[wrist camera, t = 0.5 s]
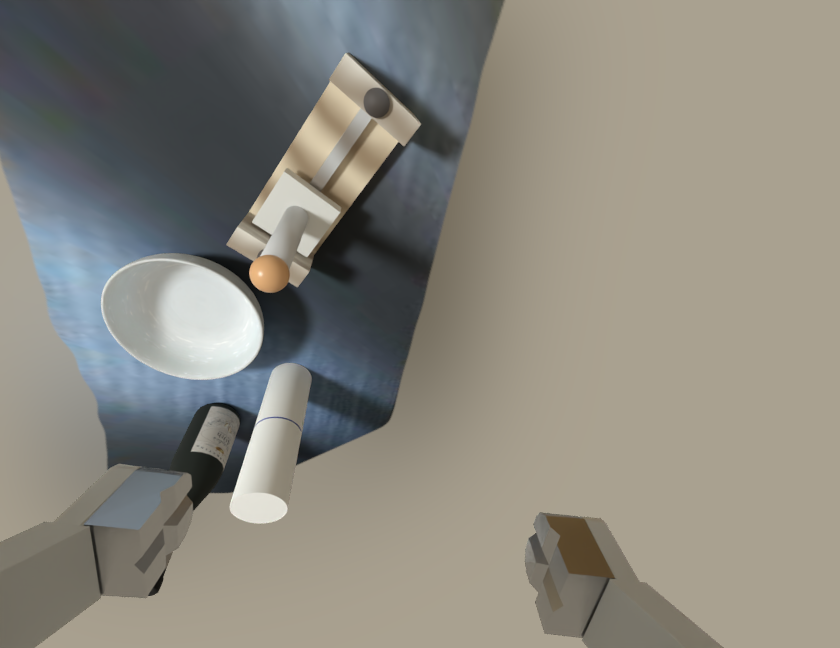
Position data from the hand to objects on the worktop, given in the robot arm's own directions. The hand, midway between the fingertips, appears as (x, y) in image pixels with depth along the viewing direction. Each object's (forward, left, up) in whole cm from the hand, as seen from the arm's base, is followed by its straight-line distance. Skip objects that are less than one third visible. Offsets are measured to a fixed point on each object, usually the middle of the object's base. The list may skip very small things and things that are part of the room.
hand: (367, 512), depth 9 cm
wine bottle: (+57, +7, -50) cm, 77 cm away
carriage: (+13, -2, -47) cm, 49 cm away
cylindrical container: (+41, +13, -50) cm, 66 cm away
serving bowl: (+35, -6, -50) cm, 62 cm away
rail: (+7, -2, -50) cm, 51 cm away
